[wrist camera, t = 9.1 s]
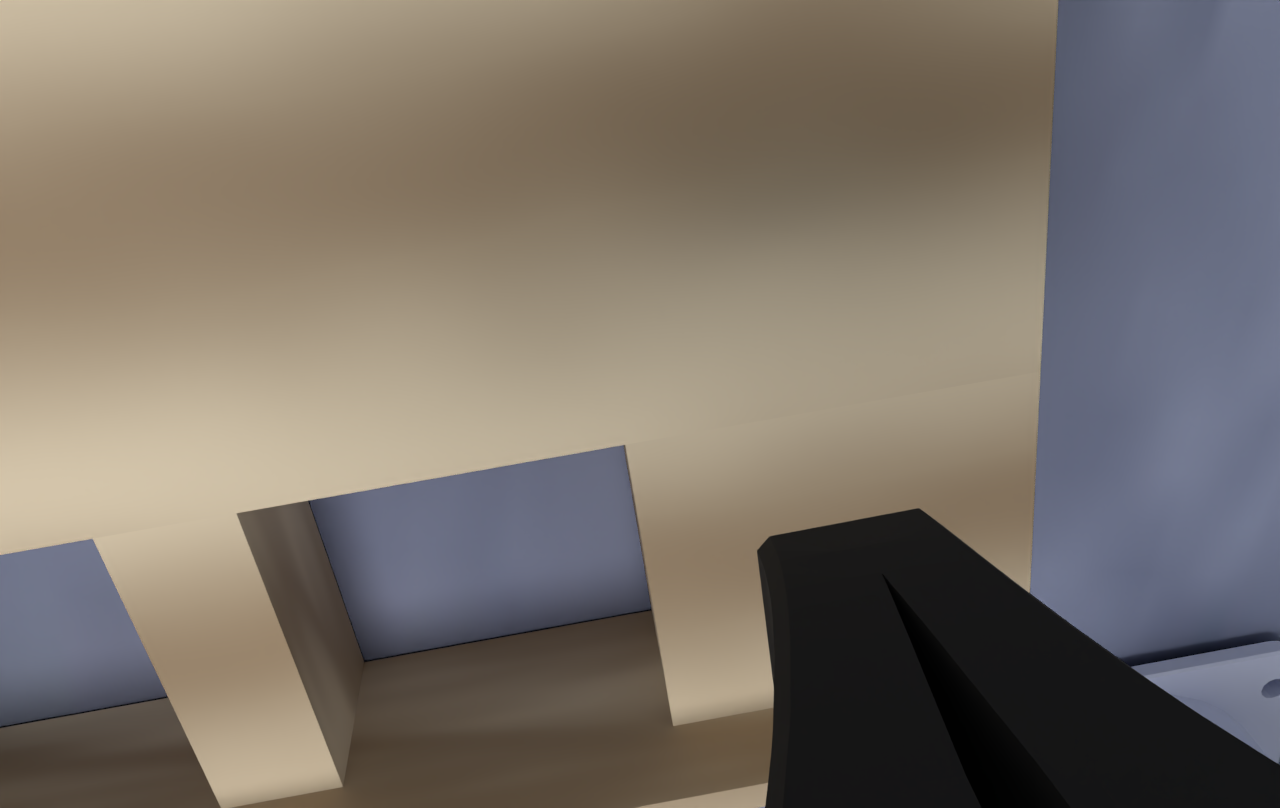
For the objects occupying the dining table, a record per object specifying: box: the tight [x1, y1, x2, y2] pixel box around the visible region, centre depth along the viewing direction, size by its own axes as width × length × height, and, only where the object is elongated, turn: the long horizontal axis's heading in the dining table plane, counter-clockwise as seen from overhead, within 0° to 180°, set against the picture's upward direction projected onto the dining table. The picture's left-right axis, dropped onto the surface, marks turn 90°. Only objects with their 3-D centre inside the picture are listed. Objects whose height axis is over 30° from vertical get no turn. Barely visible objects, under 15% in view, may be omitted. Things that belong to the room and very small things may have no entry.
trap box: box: [0, 0, 1058, 808], centre depth 15 cm, size 14×22×6 cm, turn 98°
